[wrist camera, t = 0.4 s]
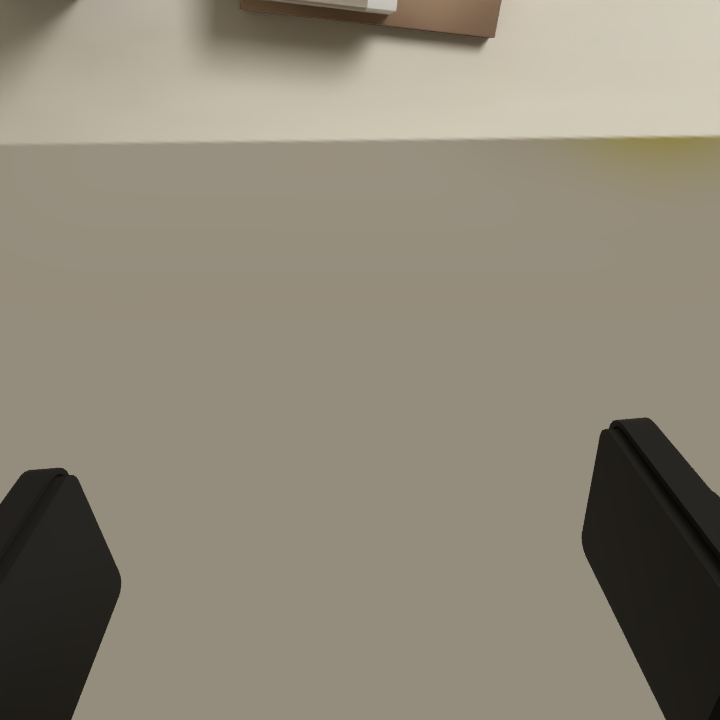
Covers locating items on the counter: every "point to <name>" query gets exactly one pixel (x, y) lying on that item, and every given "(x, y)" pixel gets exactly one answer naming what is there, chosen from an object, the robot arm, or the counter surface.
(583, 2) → the counter surface
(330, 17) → the socket board
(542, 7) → the counter surface
